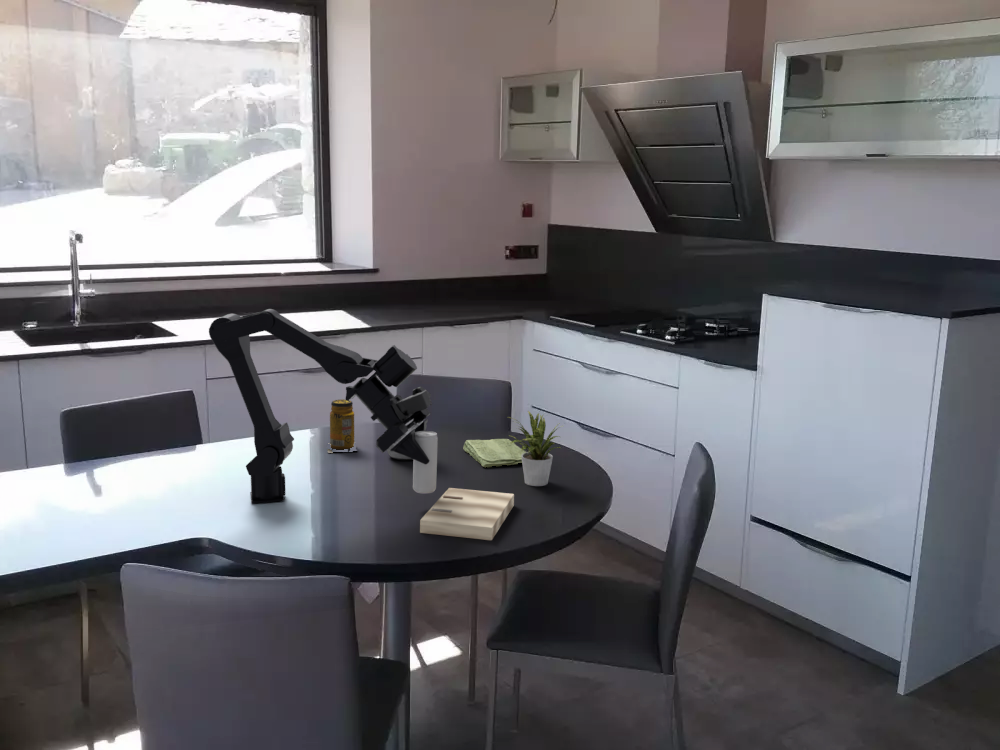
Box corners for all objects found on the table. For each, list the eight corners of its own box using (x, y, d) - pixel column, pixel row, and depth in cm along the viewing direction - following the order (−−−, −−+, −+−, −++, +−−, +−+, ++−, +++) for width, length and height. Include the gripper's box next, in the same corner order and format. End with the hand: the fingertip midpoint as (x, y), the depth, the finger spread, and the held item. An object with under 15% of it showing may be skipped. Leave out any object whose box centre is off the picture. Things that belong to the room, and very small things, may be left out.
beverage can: (424, 485, 186) (425, 429, 185) (441, 490, 184) (442, 433, 182) (407, 490, 183) (408, 433, 181) (424, 495, 180) (426, 437, 178)
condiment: (355, 443, 230) (354, 398, 227) (357, 452, 222) (357, 405, 219) (326, 444, 228) (325, 398, 226) (327, 453, 220) (327, 406, 218)
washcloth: (482, 471, 211) (482, 457, 210) (460, 450, 227) (460, 438, 226) (534, 466, 215) (534, 453, 214) (509, 447, 231) (509, 435, 231)
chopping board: (491, 540, 167) (491, 526, 167) (420, 532, 170) (420, 519, 170) (513, 505, 186) (514, 493, 186) (449, 499, 189) (449, 486, 189)
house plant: (492, 474, 207) (493, 405, 203) (547, 469, 211) (549, 402, 208) (514, 493, 194) (516, 420, 190) (573, 487, 198) (575, 416, 195)
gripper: (392, 386, 171) (446, 447, 171) (421, 368, 189) (471, 423, 188) (353, 422, 174) (406, 482, 174) (386, 401, 192) (434, 456, 192)
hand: (431, 459), depth 182 cm, fingers closed on beverage can, 5 cm apart
